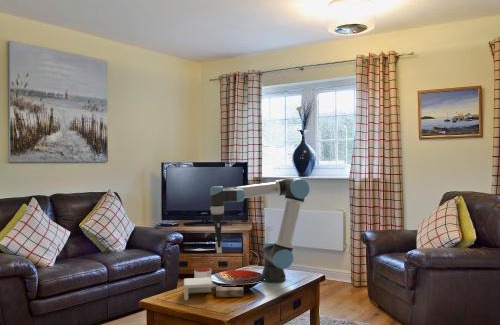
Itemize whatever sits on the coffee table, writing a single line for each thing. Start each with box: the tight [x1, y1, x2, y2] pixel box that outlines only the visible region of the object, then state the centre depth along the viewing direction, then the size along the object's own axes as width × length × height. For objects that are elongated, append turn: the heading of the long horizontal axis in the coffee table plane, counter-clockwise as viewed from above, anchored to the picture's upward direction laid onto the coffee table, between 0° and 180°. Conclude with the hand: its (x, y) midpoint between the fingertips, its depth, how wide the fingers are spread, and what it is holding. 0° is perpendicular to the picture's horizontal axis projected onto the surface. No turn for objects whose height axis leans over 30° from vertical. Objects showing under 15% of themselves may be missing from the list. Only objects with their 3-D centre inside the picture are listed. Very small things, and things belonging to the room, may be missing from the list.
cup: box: [193, 267, 212, 278], centre depth 274 cm, size 10×10×10 cm
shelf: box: [183, 276, 213, 301], centre depth 256 cm, size 15×14×8 cm
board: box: [215, 285, 245, 298], centre depth 258 cm, size 15×9×4 cm, turn 93°
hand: (218, 250), depth 264 cm, fingers open, 13 cm apart
